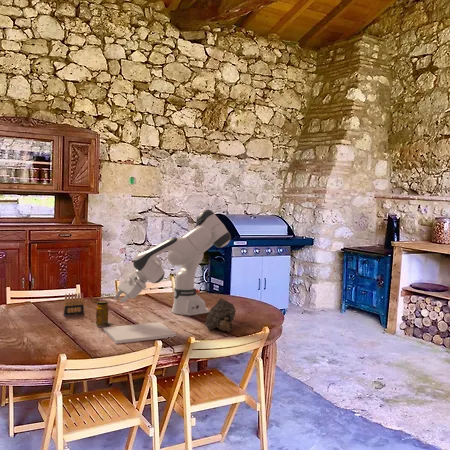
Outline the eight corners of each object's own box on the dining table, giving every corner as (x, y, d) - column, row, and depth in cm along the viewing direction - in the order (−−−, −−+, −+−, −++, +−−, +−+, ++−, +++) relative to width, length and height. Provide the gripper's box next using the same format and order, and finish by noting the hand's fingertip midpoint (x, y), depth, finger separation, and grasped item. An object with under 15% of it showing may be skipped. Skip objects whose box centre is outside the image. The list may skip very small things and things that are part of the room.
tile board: (159, 324, 255) (160, 322, 255) (176, 336, 236) (176, 333, 235) (103, 330, 240) (103, 327, 240) (116, 343, 221) (116, 340, 221)
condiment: (92, 324, 250) (93, 301, 249) (106, 321, 257) (106, 299, 256) (100, 327, 246) (101, 304, 245) (114, 324, 252) (115, 301, 251)
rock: (213, 293, 260) (233, 293, 249) (227, 310, 266) (248, 311, 256) (196, 320, 249) (217, 321, 239) (211, 337, 256) (232, 339, 245)
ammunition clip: (64, 315, 265) (64, 293, 264) (63, 314, 266) (63, 293, 265) (83, 313, 270) (84, 292, 269) (83, 312, 272) (83, 291, 271)
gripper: (126, 273, 265) (108, 292, 261) (139, 279, 248) (120, 300, 243) (134, 280, 268) (116, 299, 263) (147, 287, 250) (128, 308, 246)
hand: (118, 299), depth 253 cm, fingers open, 8 cm apart
